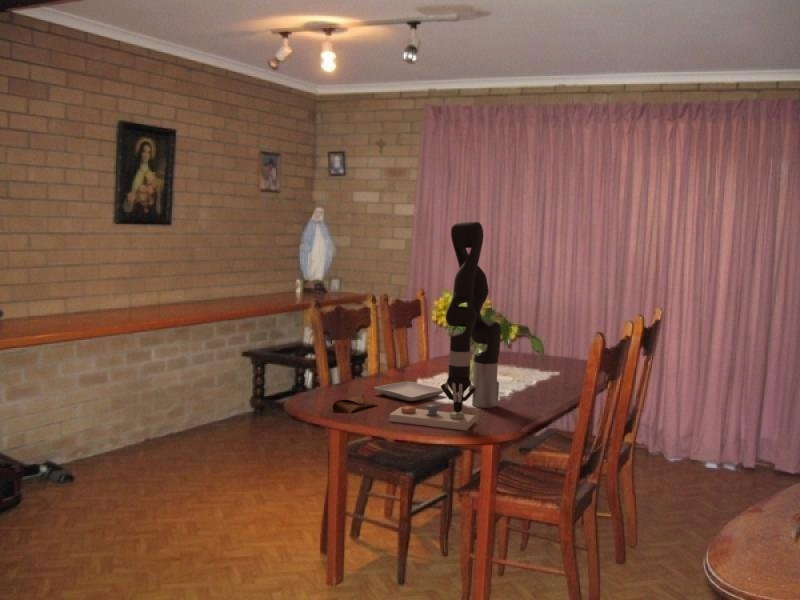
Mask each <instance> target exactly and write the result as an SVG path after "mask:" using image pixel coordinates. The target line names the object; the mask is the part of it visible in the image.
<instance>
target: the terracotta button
mask: <svg viewBox="0 0 800 600" xmlns="http://www.w3.org/2000/svg"><path fill="white" fill-rule="evenodd" d="M400 407H401V411H402V412H404V413H408V414H413V413H414V412H416V409H417V408H416V407H415V406H410V405H406V406H400Z"/></svg>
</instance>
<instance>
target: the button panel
mask: <svg viewBox="0 0 800 600" xmlns="http://www.w3.org/2000/svg"><path fill="white" fill-rule="evenodd" d="M401 407H402V406H400V407H399V408H397V409H395V410H394V411H392V412H391V413H389V419H388V421H389V422H394V423H400V424H401V423H402V424H410V425H419V426H425V425H426V427H427V426H428V427H435V428H441V429H442V428H443V429H450V430H460V431H468V430H469V428H470V427H471V426H472V425H474V424H475V423H476V422H475V421H476V415H474V414H466V413H464V414H465V417H464V418H462V419H461V420H460V419H453V418H451V417H450V412H447V411H440V410H438V411H437V417H434V416H428V410H426V409H421V408H416V412H414V413H413V414H408V413H404V412H402V411H401Z"/></svg>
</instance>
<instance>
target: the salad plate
mask: <svg viewBox="0 0 800 600" xmlns="http://www.w3.org/2000/svg"><path fill="white" fill-rule="evenodd" d="M373 388H374V390H375V391H377V392H378V393H380V394H381V395H384V396H387V397H389V398H393V399H398V400H402V401H407V402H416V401H420V400H425V399H429V398H430V399H431V398H433V396H434V397H436V396H440V395H441V394H443V393H444V391H443V390H442V388H441V387H440V388H439V387H435V386H432V385H431V386H430V385H426V384H421V383H418V382H413V381H401V382H394V383H388V384H383V385H379V386H374V387H373Z"/></svg>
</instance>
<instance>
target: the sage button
mask: <svg viewBox="0 0 800 600" xmlns="http://www.w3.org/2000/svg"><path fill="white" fill-rule="evenodd" d="M449 413H450V417H451V418H453V419H460V420H461V419H462V418H464V417H465V414H466V413H464V412H462V411H460V413H457V412H455V411H451V412H449Z"/></svg>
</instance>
